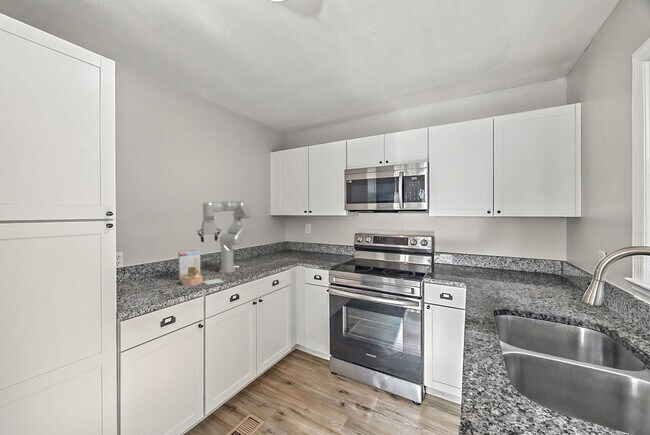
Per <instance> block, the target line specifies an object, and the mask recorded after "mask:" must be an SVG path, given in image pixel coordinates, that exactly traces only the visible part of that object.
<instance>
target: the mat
mask: <svg viewBox="0 0 650 435" xmlns="http://www.w3.org/2000/svg"><path fill="white" fill-rule="evenodd" d="M224 282H225V281H224V280H222V279H220V278H215V279H208V280H202V283H205V284H206V285H212V284H214V285H215V284H218V283H224Z"/></svg>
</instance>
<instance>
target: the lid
mask: <svg viewBox="0 0 650 435" xmlns="http://www.w3.org/2000/svg"><path fill="white" fill-rule="evenodd" d="M201 276H202V277H203V274H202V273H200V274H199V273H196V267H188V274H187V275H183V279H194V278H199V277H201Z"/></svg>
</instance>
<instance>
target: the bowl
mask: <svg viewBox="0 0 650 435" xmlns="http://www.w3.org/2000/svg"><path fill="white" fill-rule="evenodd" d="M181 284H182V286H185V287H186V286H189V287H190V286H197V285H200V284H203V275H202V276H201V277H199V278H194V279H183V277H182V280H181Z"/></svg>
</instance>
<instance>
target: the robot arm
mask: <svg viewBox="0 0 650 435" xmlns="http://www.w3.org/2000/svg"><path fill="white" fill-rule="evenodd" d="M219 212H232V216H233V223H232V224H231V225H230V226H229V227H228V228H227V230H226V231H227V233H223V234H221V231H222V230H221V229H219V227H217V223H216V220H215V219H217V217H216V216H215V213H219ZM252 216H253V213H252V210H251V208H250V207H249V205H248V204H247V203H246V201H243V200H226V201H225V200H224V201H213V202H212V201H208V202H203V203H202V218H203V220H202V221H201V227H200V228H199V229H198V230H196V234H197V235H198V236H199V237H200V241H201V243H204V242H205V239H204V236H205V235H213V234H214V241H215V242H217V241H218V238H219V243H220V255H221V256H220V261H221V265H220V266H221V268H220V269H219V273H220V274H227V273H235V272H236V269H239V268H240V266H239V265H234V248H233V247H232V246H235V247H236V246H240V244H241V243H242V242H243V240H244V239H245V237H246V235H247V232H248V231H247V227H245V226H244V223H243V221H242V219H245V220H247V219H251V217H252ZM219 234H221V235H220V237H218V236H219Z"/></svg>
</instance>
